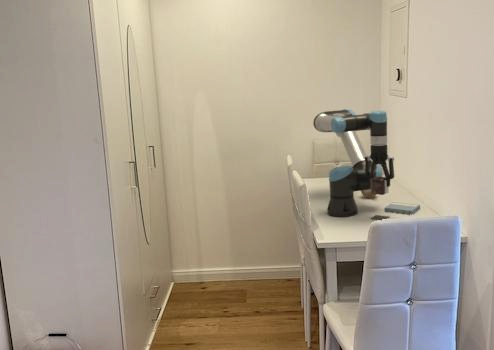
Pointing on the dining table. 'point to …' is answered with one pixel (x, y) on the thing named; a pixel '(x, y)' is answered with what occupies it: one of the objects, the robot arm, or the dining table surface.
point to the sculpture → (368, 193)
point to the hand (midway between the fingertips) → (379, 192)
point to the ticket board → (402, 208)
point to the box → (378, 185)
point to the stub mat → (379, 217)
